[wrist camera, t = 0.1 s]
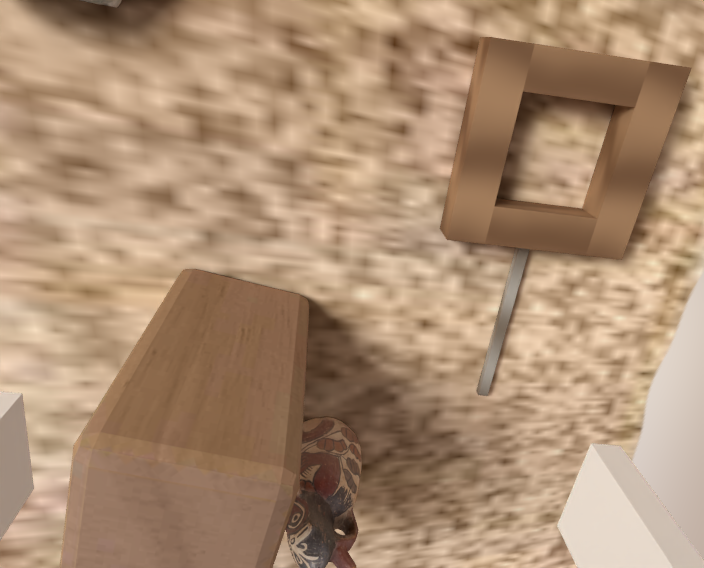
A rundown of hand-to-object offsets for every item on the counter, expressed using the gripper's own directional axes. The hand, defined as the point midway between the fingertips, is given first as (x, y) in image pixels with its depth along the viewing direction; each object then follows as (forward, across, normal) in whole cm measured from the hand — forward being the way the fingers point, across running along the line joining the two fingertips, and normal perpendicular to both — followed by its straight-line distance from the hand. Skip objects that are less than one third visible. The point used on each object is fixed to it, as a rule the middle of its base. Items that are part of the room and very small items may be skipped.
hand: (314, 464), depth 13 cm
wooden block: (+28, -5, -13) cm, 31 cm away
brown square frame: (+28, +16, -3) cm, 32 cm away
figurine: (+28, +3, -24) cm, 37 cm away
